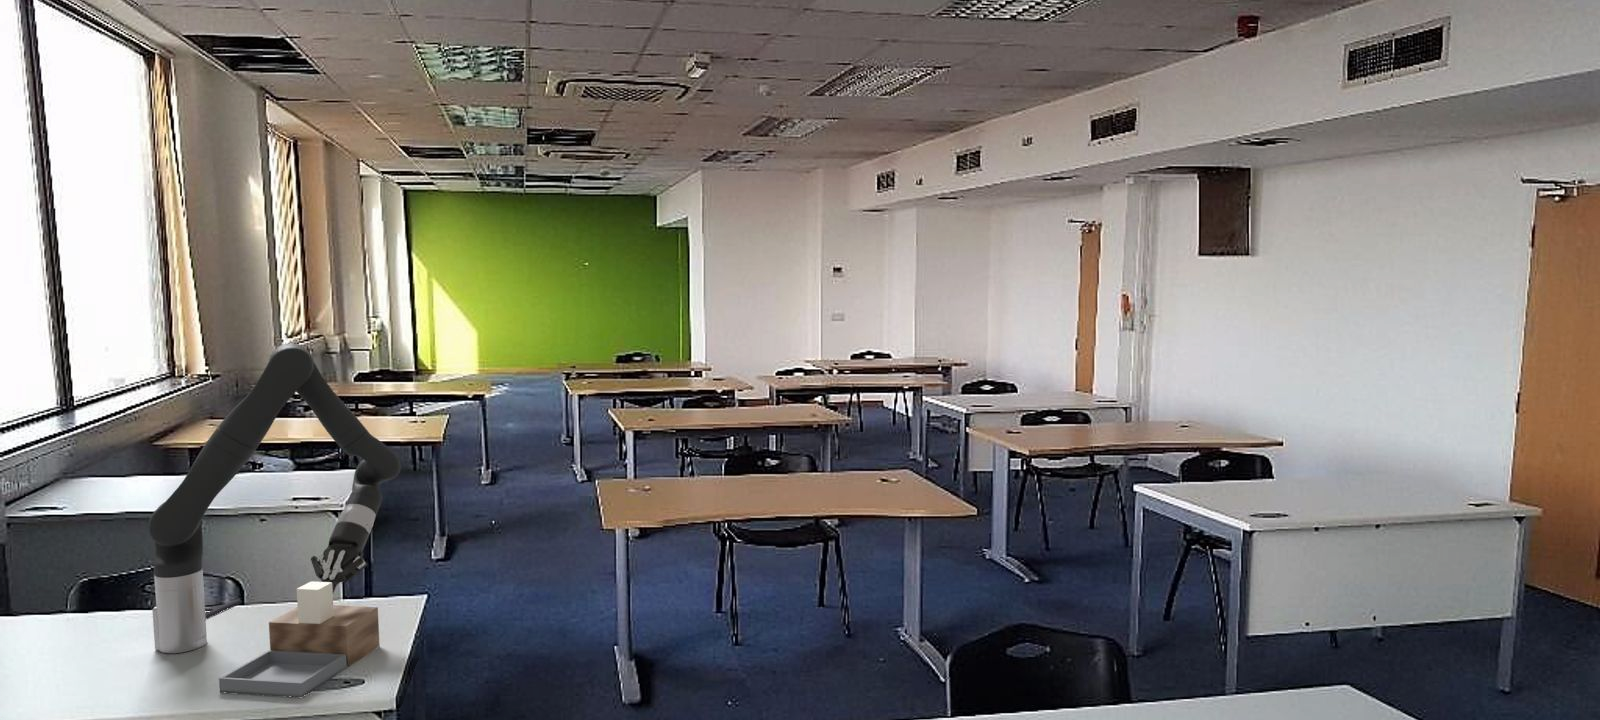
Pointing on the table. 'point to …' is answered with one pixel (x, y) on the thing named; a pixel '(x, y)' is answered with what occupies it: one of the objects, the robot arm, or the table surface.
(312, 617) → the cream block
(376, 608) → the walnut platform
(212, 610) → the bracket
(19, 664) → the table surface
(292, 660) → the box
